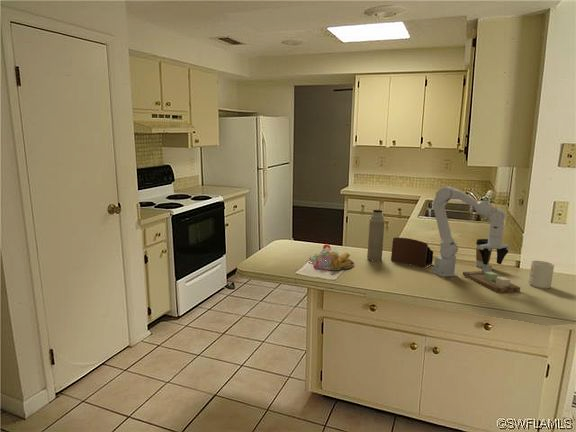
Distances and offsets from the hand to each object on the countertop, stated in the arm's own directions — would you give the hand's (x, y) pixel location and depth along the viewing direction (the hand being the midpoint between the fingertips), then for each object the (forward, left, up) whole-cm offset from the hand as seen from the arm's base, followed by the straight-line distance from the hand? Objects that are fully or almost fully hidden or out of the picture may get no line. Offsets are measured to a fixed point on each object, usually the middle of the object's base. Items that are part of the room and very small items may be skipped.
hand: (492, 264), depth 187 cm
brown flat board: (0, 0, -9) cm, 9 cm away
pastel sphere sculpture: (-67, +38, -10) cm, 77 cm away
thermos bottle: (-39, +44, -10) cm, 60 cm away
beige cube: (0, -8, -8) cm, 11 cm away
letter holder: (-20, +37, -10) cm, 43 cm away
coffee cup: (+15, +25, -10) cm, 31 cm away
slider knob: (+4, +8, -7) cm, 11 cm away
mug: (+22, -5, -10) cm, 25 cm away
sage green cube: (0, 0, -8) cm, 8 cm away
